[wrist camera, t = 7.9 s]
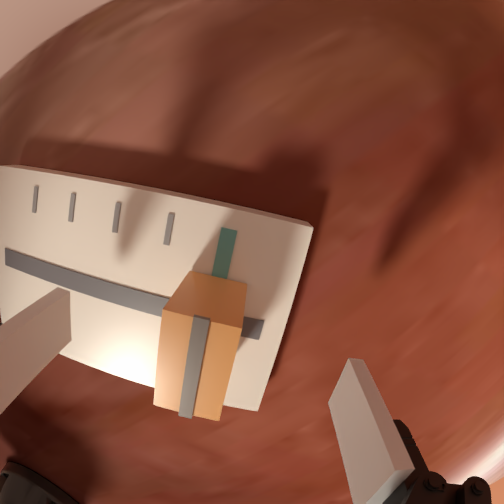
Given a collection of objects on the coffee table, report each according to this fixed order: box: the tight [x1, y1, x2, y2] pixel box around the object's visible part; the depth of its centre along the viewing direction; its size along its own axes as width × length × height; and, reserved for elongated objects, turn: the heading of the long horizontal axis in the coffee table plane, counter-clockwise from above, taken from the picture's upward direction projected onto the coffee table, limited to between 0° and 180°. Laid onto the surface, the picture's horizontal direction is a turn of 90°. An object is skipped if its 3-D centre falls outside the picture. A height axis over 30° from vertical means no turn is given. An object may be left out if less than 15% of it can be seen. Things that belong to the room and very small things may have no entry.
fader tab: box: [154, 271, 247, 421], centre depth 14 cm, size 5×3×5 cm, turn 167°
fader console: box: [0, 165, 313, 411], centre depth 17 cm, size 12×20×2 cm, turn 77°
